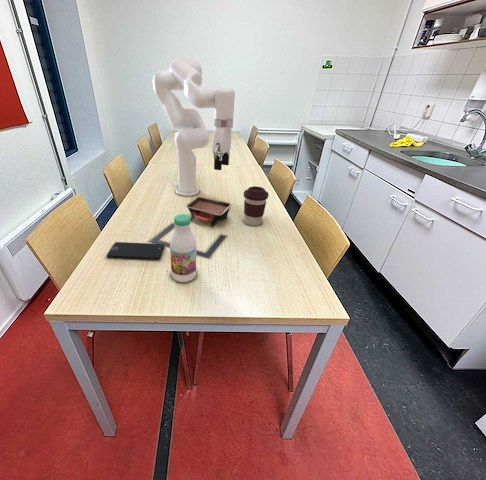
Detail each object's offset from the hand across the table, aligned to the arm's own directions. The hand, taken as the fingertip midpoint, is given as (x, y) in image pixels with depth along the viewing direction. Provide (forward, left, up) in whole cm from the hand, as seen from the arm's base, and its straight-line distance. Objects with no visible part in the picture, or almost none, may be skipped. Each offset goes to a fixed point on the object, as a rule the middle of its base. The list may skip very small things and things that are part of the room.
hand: (221, 167), depth 117 cm
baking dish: (0, -12, -20) cm, 23 cm away
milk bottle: (+9, -51, -20) cm, 56 cm away
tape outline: (0, -30, -20) cm, 36 cm away
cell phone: (-12, -47, -20) cm, 53 cm away
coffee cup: (+18, -6, -20) cm, 28 cm away
